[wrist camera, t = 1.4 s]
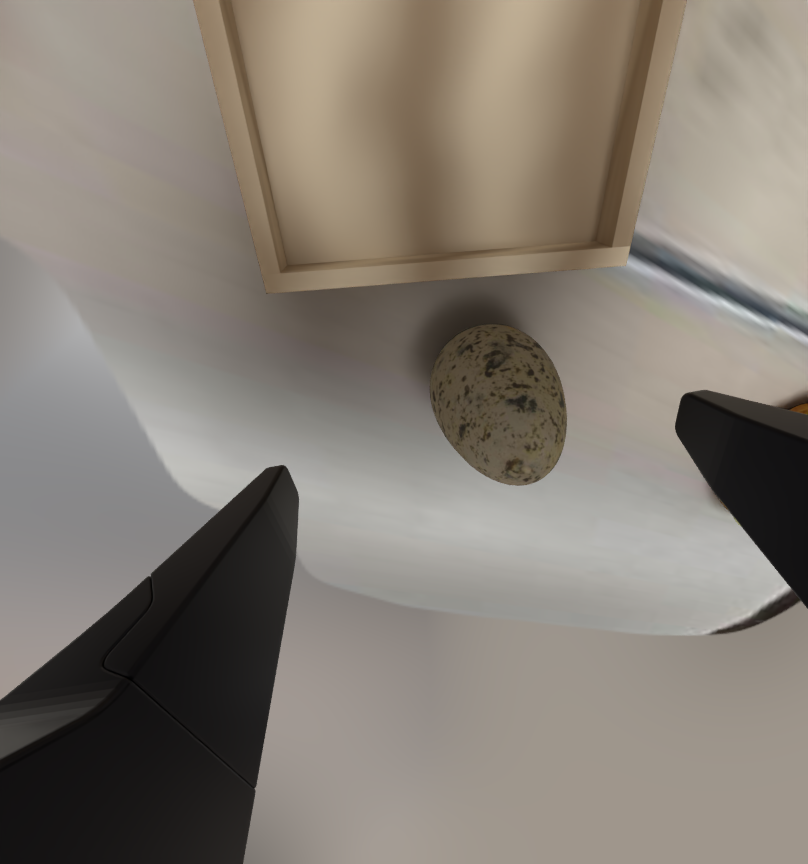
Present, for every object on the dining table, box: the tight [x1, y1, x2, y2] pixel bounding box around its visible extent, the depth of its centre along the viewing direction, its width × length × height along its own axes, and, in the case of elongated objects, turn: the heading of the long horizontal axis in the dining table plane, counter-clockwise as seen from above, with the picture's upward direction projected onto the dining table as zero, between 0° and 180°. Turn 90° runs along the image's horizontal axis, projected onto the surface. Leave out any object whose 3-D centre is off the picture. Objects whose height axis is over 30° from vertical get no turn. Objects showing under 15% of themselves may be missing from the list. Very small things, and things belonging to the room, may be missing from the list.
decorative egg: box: [430, 324, 567, 486], centre depth 19 cm, size 6×6×10 cm
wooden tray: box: [193, 0, 687, 294], centre depth 15 cm, size 16×16×2 cm
